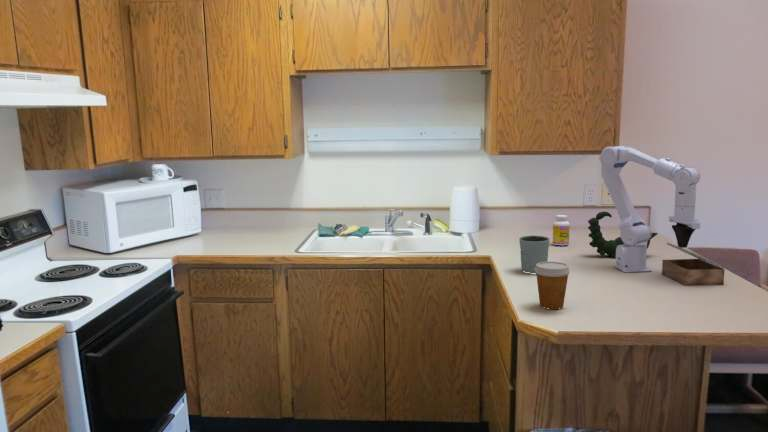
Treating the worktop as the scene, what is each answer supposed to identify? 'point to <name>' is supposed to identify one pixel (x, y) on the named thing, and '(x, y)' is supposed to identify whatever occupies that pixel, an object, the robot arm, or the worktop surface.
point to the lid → (695, 255)
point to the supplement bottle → (561, 230)
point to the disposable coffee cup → (552, 283)
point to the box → (693, 272)
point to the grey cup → (533, 251)
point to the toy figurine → (599, 241)
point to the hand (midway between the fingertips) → (682, 247)
